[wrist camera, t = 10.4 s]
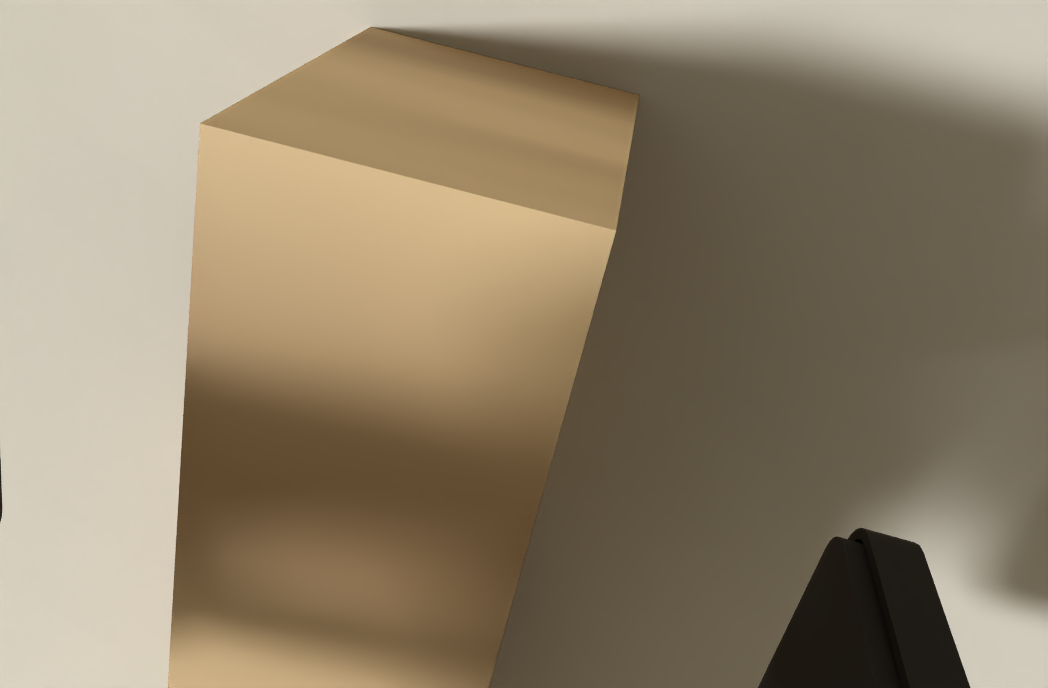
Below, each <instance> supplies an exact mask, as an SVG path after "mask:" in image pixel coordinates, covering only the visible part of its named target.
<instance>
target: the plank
mask: <svg viewBox="0 0 1048 688" xmlns="http://www.w3.org/2000/svg"><path fill="white" fill-rule="evenodd" d="M638 101H639V95H637V94H633V93H629V92H625V91H622V90H618V89H614V88H610V87H606V86H602V85H598V84H594V83H590V82H586V81H582V80H578V79H574V78H570V77H566V76H562V75H558V74H554V73H551V72H547V71H543V70H539V69H535V68H531V67H527V66H523V65H519V64H515V63H511V62H507V61H503V60H499V59H495V58H491V57H487V56H483V55H479V54H476V53H472V52H468V51H464V50H460V49H456V48H452V47H448V46H444V45H440V44H436V43H432V42H428V41H424V40H420V39H416V38H412V37H408V36H405V35H401V34H397V33H393V32H389V31H385V30H381V29H377V28H373V27H370V28H368V29H366V30H365V31H363V32H361V33H359V34H358V35H356V36H354V37H352V38H350V39H349V40H347V41H345V42H343V43H342V44H340V45H338V46H336V47H335V48H333V49H331V50H329V51H327V52H326V53H324V54H322V55H320V56H319V57H317V58H315V59H313V60H312V61H310V62H308V63H306V64H304V65H303V66H301V67H299V68H297V69H296V70H294V71H292V72H290V73H289V74H287V75H285V76H283V77H281V78H280V79H278V80H276V81H274V82H273V83H271V84H269V85H267V86H266V87H264V88H262V89H260V90H258V91H257V92H255V93H253V94H251V95H250V96H248V97H246V98H244V99H243V100H241V101H239V102H237V103H235V104H234V105H232V106H230V107H228V108H227V109H225V110H223V111H221V112H220V113H218V114H216V115H214V116H213V117H211V118H209V119H207V120H205V121H204V122H202V123H200V135H199V152H198V170H197V187H196V205H195V222H194V240H193V257H192V274H191V292H190V309H189V327H188V344H187V362H186V379H185V397H184V414H183V432H182V449H181V467H180V484H179V502H178V519H177V536H176V554H175V571H174V589H173V606H172V624H171V641H170V659H169V676H168V688H488V687H489V684H490V680H491V677H492V673H493V669H494V666H495V662H496V659H497V655H498V652H499V648H500V644H501V641H502V637H503V634H504V630H505V627H506V623H507V619H508V616H509V612H510V609H511V605H512V601H513V598H514V594H515V591H516V587H517V584H518V580H519V576H520V573H521V569H522V566H523V562H524V559H525V555H526V551H527V548H528V544H529V541H530V537H531V534H532V530H533V526H534V523H535V519H536V516H537V512H538V509H539V505H540V501H541V498H542V494H543V491H544V487H545V483H546V480H547V476H548V473H549V469H550V466H551V462H552V458H553V455H554V451H555V448H556V444H557V441H558V437H559V433H560V430H561V426H562V423H563V419H564V416H565V412H566V408H567V405H568V401H569V398H570V394H571V390H572V387H573V383H574V380H575V376H576V373H577V369H578V365H579V362H580V358H581V355H582V351H583V348H584V344H585V340H586V337H587V333H588V330H589V326H590V323H591V319H592V315H593V312H594V308H595V305H596V301H597V297H598V294H599V290H600V287H601V283H602V280H603V276H604V272H605V269H606V265H607V262H608V258H609V255H610V251H611V247H612V244H613V240H614V237H615V233H616V229H617V223H618V217H619V211H620V206H621V200H622V194H623V188H624V182H625V177H626V171H627V165H628V159H629V153H630V147H631V142H632V136H633V130H634V124H635V118H636V113H637V107H638Z"/></svg>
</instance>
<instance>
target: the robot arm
mask: <svg viewBox="0 0 1048 688" xmlns="http://www.w3.org/2000/svg"><path fill="white" fill-rule="evenodd" d="M1 517H2V488H1V460H0V521H1ZM758 688H970V685H969V683H968V680H967V677H966V674H965V671H964V668H963V665H962V662H961V659H960V657H959V654H958V651H957V648H956V645H955V642H954V639H953V636H952V633H951V631H950V628H949V625H948V622H947V619H946V616H945V613H944V610H943V607H942V605H941V602H940V599H939V596H938V593H937V590H936V587H935V584H934V581H933V578H932V576H931V573H930V570H929V567H928V564H927V561H926V558H925V555H924V552H923V551H922V549H921V547H920V545H918V544H916V543H914V542H911V541H907V540H903V539H900V538H896V537H893V536H889V535H885V534H882V533H878V532H874V531H871V530H867V529H864V528H859V529H856V530H855V531H854V532H853V533H852V534H851V535H850V537H849V538H848V539H844V538H841V537H834V538H833V539H832V540H831V541H830V542H829V543H828V545H827V547H826V549H825V551H824V553H823V555H822V557H821V559H820V561H819V563H818V565H817V567H816V569H815V571H814V573H813V575H812V577H811V580H810V582H809V584H808V586H807V588H806V590H805V592H804V594H803V596H802V598H801V600H800V602H799V604H798V606H797V608H796V610H795V613H794V615H793V617H792V619H791V621H790V623H789V625H788V627H787V629H786V631H785V633H784V635H783V637H782V639H781V641H780V643H779V646H778V648H777V650H776V652H775V654H774V656H773V658H772V660H771V662H770V664H769V666H768V668H767V670H766V672H765V674H764V676H763V679H762V681H761V683H760V685H759V687H758Z"/></svg>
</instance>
